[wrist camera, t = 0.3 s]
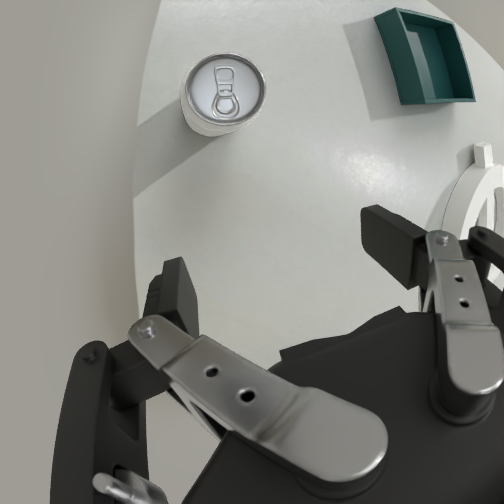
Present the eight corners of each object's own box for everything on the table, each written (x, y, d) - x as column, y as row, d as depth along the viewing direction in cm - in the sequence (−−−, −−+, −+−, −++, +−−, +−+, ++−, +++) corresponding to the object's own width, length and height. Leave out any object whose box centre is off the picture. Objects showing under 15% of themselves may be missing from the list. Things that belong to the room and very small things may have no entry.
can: (184, 139, 28) (180, 135, 17) (182, 83, 26) (178, 49, 15) (242, 135, 29) (273, 130, 18) (241, 81, 27) (270, 48, 16)
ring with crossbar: (471, 133, 35) (490, 136, 31) (512, 198, 45) (526, 204, 40) (418, 267, 43) (435, 279, 38) (471, 297, 52) (483, 306, 48)
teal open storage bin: (373, 17, 25) (395, 7, 21) (432, 26, 26) (453, 21, 22) (401, 104, 31) (425, 103, 27) (454, 101, 32) (476, 102, 28)
